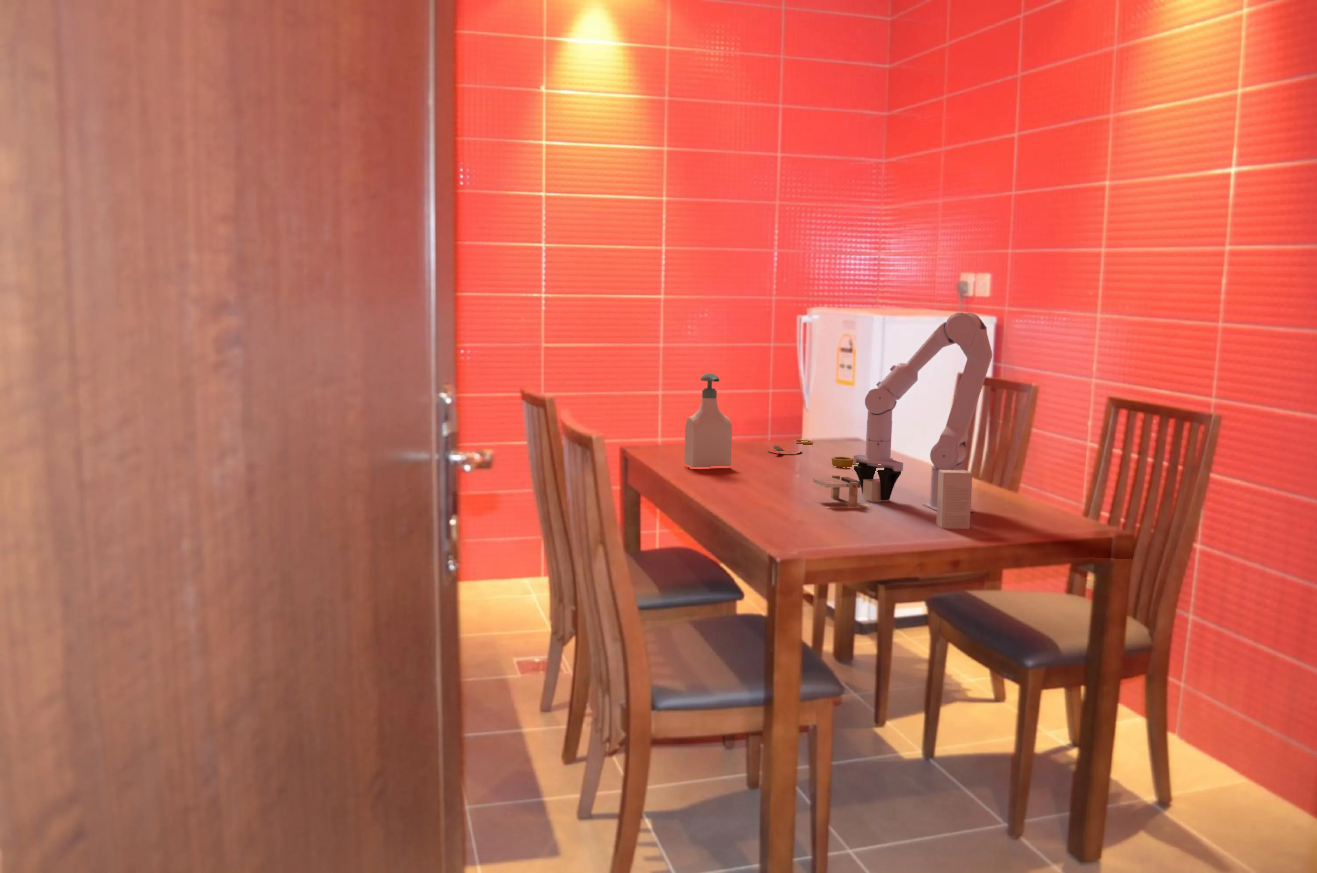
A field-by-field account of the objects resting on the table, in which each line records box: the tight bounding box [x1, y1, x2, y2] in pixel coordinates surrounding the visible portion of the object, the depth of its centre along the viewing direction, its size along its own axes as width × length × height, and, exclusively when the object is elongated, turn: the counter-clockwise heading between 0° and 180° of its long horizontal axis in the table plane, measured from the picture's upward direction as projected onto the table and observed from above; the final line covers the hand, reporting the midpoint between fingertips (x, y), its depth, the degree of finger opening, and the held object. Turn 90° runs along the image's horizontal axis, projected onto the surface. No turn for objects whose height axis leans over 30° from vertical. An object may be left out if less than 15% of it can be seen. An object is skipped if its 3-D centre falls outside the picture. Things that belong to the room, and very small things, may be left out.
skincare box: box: [936, 469, 973, 530], centre depth 220 cm, size 6×4×12 cm
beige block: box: [862, 478, 890, 503], centre depth 246 cm, size 5×5×6 cm
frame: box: [824, 474, 873, 510], centre depth 242 cm, size 11×11×6 cm
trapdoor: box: [812, 476, 861, 489], centre depth 241 cm, size 8×8×1 cm
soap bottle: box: [683, 372, 733, 467], centre depth 283 cm, size 11×8×27 cm
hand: (875, 497), depth 247 cm, fingers closed on beige block, 6 cm apart
